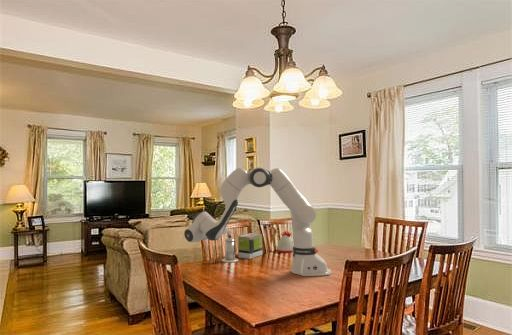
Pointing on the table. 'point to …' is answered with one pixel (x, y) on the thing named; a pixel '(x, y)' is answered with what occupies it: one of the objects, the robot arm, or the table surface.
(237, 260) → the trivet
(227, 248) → the french press
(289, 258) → the table surface
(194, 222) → the robot arm
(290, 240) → the kitchen timer
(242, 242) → the tea box
